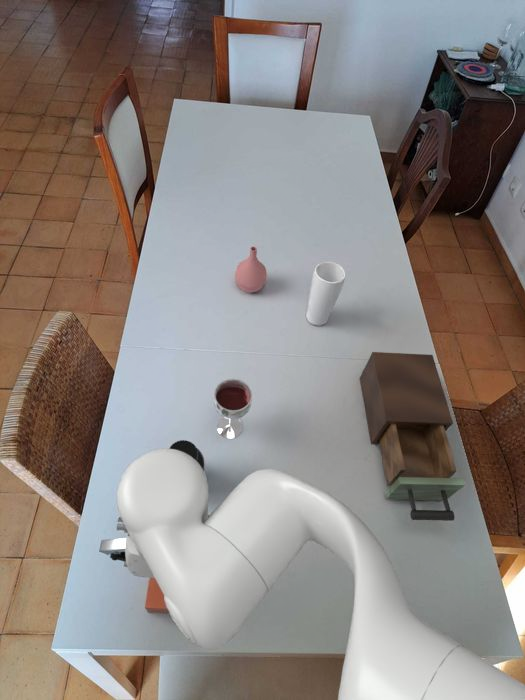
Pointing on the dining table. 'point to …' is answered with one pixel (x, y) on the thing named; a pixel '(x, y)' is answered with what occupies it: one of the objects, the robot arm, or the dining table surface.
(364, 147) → the dining table surface
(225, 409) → the wineglass
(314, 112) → the dining table surface
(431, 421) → the cabinet
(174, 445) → the supplement bottle
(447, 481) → the drawer
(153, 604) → the block
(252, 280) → the pink bulb vase
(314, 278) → the drinking glass
